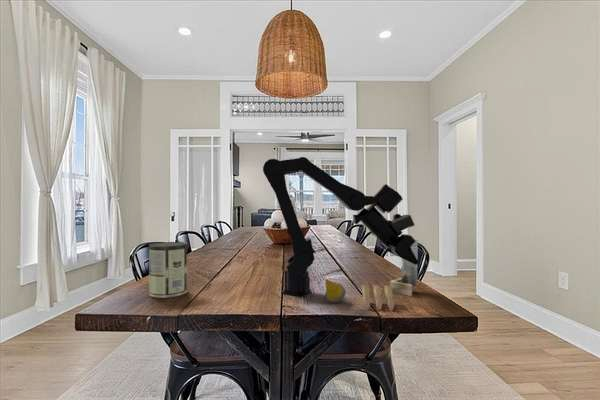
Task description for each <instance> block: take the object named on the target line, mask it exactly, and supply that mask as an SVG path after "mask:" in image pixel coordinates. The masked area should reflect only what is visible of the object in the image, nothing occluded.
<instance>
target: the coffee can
mask: <svg viewBox="0 0 600 400" xmlns="http://www.w3.org/2000/svg"><path fill="white" fill-rule="evenodd" d="M187 247H188V243H187V242H184V241H164V242H163V241H162V242H154V243H150V244H148V248H149V249H148V251H149V256H148V257H149V260H148V261H149V263H148V264H149V266H148V267H149V272H148V273H149V276H148V277H149V281H148V282H149V291H148V292H149V294H148V295H149V297H152V298H155V299H156V298H157V299H159V298H160V299H164V298H173V297H174V298H175V297H179V296H183V295H185V294H186V293H187V292H188V284H187V283H188V280H187V279H188V277H187V276H188V264H187V263H188V259H187V258H188V248H187Z"/></svg>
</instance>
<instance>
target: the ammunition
mask: <svg viewBox="0 0 600 400" xmlns="http://www.w3.org/2000/svg"><path fill="white" fill-rule="evenodd" d="M380 286H381V285H377V284H375V285H374V284H373V301H374V304H375V306H376V309H377V310H378V311H381V310H382V307H383V299H382V290H381V289H382V287H380ZM361 287H362V289H361V291H362V301H363V305H364V306H363V307H364V309H365V310H366V311H369V310H370V306H371V299H370V298H371V297H370V293H371V292H370V285H369V284H362V286H361ZM393 295H394V293H393V292H392V288H391V286H390V285H384V298H385V301H386V305H387V307H388V309H389V311H391V310H394V307H395V300H394V299H393V298H394V296H393Z"/></svg>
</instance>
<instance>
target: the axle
mask: <svg viewBox="0 0 600 400" xmlns="http://www.w3.org/2000/svg"><path fill="white" fill-rule="evenodd" d="M415 240H416V241H415V243H414V244H413V245H412V246H411V249H412V251H413V253H414V255H415V257H416V259H417V260H418V250H419V249H418V246H419V245H418V244H419V243H418V241H419V240H417V239H415ZM401 278H402V283H406V284H412V287H417V286H418V264H417V265H415V264H413V263H411V262H409V261H407V260H405V259H403V258H401Z"/></svg>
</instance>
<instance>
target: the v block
mask: <svg viewBox="0 0 600 400" xmlns="http://www.w3.org/2000/svg"><path fill="white" fill-rule="evenodd" d="M389 286H391V288H392V292H393V294H398V295H402V296H409V297H411V296H413V286H412V284H406V283H402V277H398V278H396V279H393V280H389Z"/></svg>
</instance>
